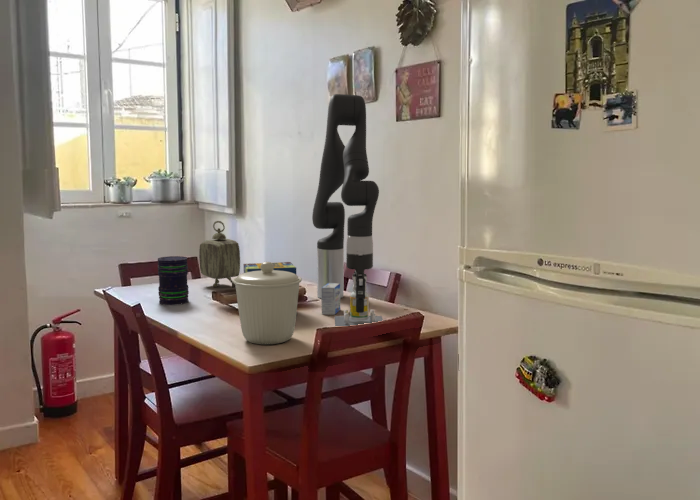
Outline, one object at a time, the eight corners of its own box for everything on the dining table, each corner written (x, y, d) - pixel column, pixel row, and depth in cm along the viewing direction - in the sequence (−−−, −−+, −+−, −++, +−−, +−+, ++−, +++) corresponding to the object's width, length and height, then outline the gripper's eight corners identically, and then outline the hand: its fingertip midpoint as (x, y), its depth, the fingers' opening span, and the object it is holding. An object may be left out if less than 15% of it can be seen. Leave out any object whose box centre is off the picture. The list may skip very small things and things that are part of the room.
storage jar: (187, 298, 234) (186, 255, 232) (190, 303, 225) (189, 259, 223) (158, 300, 231) (156, 256, 229) (159, 305, 222) (157, 261, 220)
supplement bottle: (364, 321, 190) (365, 287, 189) (347, 319, 192) (347, 286, 191) (371, 317, 195) (371, 284, 194) (354, 315, 197) (354, 283, 196)
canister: (302, 348, 172) (301, 266, 169) (230, 350, 170) (229, 267, 168) (302, 330, 190) (301, 256, 187) (237, 332, 188) (235, 257, 185)
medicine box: (335, 315, 209) (335, 287, 208) (321, 314, 210) (321, 287, 209) (340, 309, 217) (340, 283, 216) (327, 309, 218) (327, 282, 216)
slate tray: (334, 320, 201) (334, 306, 201) (381, 320, 202) (381, 305, 201) (335, 334, 186) (335, 318, 185) (386, 334, 186) (386, 318, 186)
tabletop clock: (240, 287, 255) (239, 221, 251) (221, 290, 248) (219, 223, 245) (218, 282, 265) (216, 219, 261) (198, 285, 258) (196, 220, 255)
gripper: (345, 248, 198) (345, 304, 200) (347, 255, 184) (347, 315, 186) (371, 248, 198) (370, 304, 200) (374, 255, 184) (374, 315, 186)
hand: (359, 309), depth 193 cm, fingers closed on supplement bottle, 5 cm apart
